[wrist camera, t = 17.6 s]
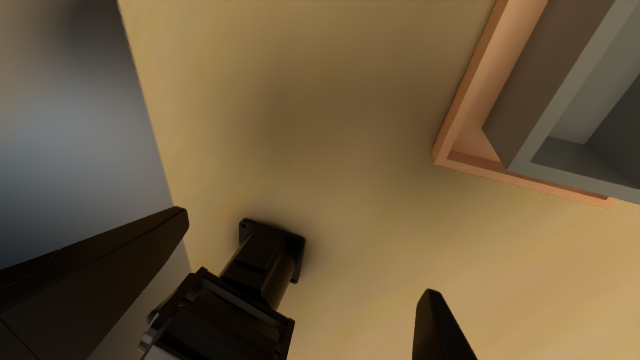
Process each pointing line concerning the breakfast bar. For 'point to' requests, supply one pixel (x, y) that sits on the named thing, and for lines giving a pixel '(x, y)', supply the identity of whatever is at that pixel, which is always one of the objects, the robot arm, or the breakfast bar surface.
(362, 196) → the breakfast bar surface
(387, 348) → the breakfast bar surface
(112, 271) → the robot arm
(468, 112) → the tray
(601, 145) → the box
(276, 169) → the breakfast bar surface
